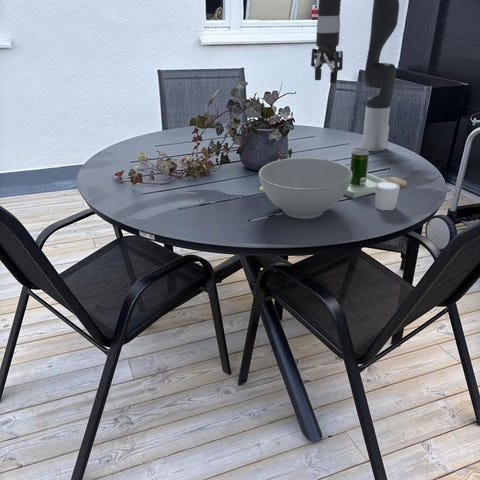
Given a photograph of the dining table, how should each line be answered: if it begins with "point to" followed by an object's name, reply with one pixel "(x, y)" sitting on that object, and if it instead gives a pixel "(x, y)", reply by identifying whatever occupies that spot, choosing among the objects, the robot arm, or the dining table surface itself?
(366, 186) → the tray
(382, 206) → the white cup
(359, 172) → the beer can
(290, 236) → the dining table surface
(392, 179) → the oak coaster
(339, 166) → the decorative bowl
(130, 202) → the dining table surface
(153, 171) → the dining table surface
